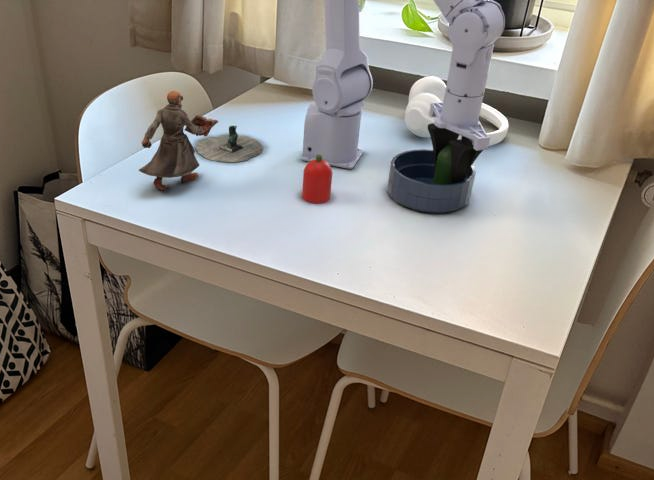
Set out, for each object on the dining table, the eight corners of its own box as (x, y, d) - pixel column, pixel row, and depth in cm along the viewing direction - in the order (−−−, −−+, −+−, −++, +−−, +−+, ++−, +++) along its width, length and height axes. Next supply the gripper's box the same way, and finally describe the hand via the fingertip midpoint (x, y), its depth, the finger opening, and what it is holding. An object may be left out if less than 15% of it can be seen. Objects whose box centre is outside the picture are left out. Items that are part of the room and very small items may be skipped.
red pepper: (296, 194, 122) (298, 153, 117) (318, 188, 124) (321, 147, 119) (313, 206, 119) (316, 164, 114) (335, 199, 121) (339, 157, 117)
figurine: (216, 171, 127) (214, 82, 118) (228, 190, 122) (228, 99, 112) (134, 180, 123) (125, 89, 114) (143, 200, 118) (135, 106, 108)
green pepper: (449, 192, 119) (457, 149, 114) (427, 181, 122) (434, 139, 117) (467, 184, 121) (476, 142, 117) (445, 174, 124) (453, 133, 119)
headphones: (398, 140, 140) (503, 164, 138) (408, 99, 134) (518, 123, 133) (406, 104, 155) (501, 125, 153) (416, 65, 149) (514, 87, 148)
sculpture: (266, 139, 139) (265, 118, 131) (258, 185, 138) (256, 166, 130) (203, 129, 140) (198, 108, 132) (194, 175, 138) (189, 156, 130)
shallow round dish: (378, 205, 120) (382, 176, 117) (396, 171, 130) (400, 144, 127) (463, 221, 117) (469, 192, 114) (474, 185, 127) (480, 157, 124)
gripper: (418, 76, 116) (405, 159, 125) (467, 110, 106) (449, 198, 114) (457, 73, 118) (442, 154, 127) (509, 106, 108) (489, 192, 116)
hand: (448, 175), depth 121 cm, fingers closed on green pepper, 4 cm apart
